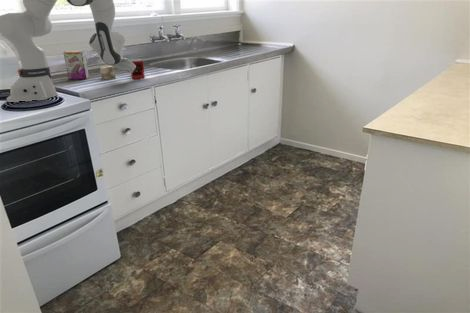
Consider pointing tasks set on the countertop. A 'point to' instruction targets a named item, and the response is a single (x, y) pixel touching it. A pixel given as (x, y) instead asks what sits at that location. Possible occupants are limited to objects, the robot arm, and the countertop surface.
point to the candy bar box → (76, 64)
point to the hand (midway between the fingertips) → (131, 72)
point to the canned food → (138, 69)
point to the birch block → (107, 72)
